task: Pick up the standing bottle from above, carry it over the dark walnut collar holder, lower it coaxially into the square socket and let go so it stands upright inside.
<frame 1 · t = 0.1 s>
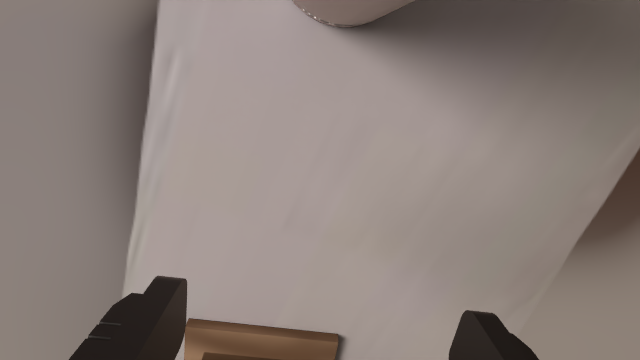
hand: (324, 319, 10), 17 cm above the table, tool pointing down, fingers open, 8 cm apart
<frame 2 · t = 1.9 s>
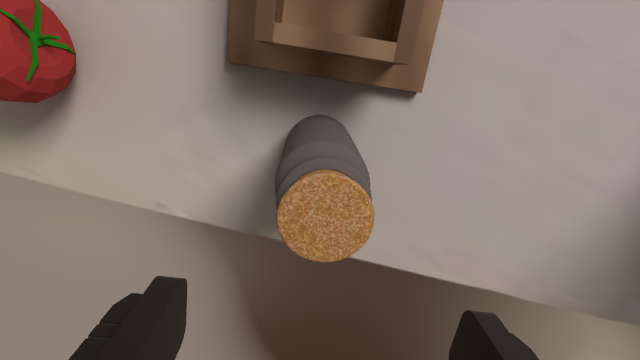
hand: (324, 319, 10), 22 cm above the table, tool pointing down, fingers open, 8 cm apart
bottle: (318, 146, 31), on the table
tomato: (54, 47, 27), on the table
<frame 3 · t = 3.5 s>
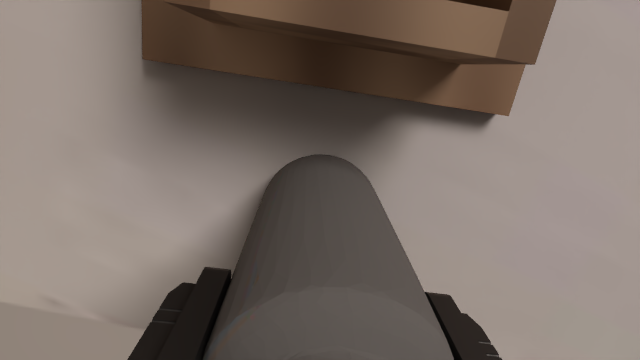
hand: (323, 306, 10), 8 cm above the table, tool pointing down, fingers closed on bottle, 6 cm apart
bottle: (319, 206, 18), on the table, touching gripper
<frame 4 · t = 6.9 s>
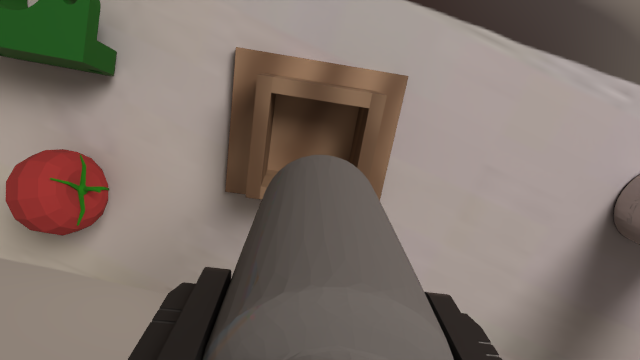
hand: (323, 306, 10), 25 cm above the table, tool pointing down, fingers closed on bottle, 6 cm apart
bottle: (319, 206, 18), point 18 cm above the table, touching gripper
clamp: (60, 24, 30), on the table
tomato: (91, 177, 35), on the table
collar holder: (312, 134, 34), on the table
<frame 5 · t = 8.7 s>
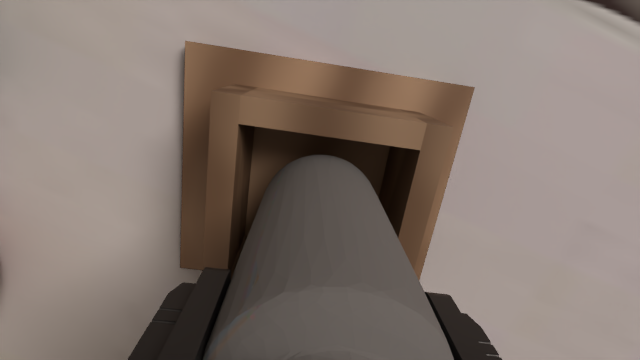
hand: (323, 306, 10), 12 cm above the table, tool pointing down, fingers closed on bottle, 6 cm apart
bottle: (319, 206, 18), point 4 cm above the table, touching gripper
collar holder: (315, 179, 22), on the table
when the fingers open (10 cm above the table, at t = 10.1 s): bottle drops 1 cm, resting on collar holder.
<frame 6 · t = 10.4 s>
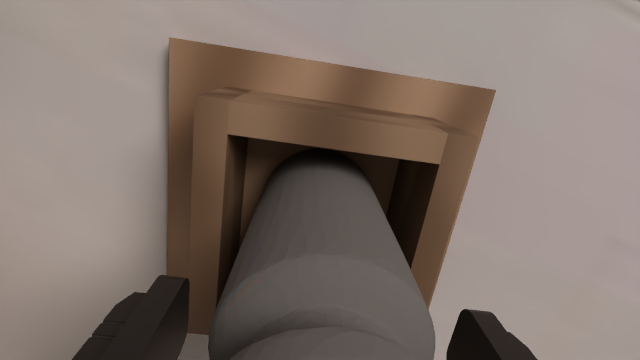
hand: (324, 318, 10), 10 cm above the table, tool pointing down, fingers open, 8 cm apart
bottle: (318, 198, 19), point 1 cm above the table, touching collar holder
collar holder: (316, 191, 19), on the table
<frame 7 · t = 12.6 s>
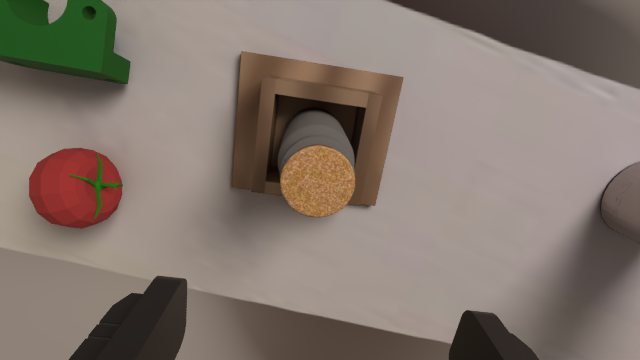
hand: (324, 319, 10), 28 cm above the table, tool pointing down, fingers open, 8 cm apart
bottle: (314, 134, 35), point 1 cm above the table, touching collar holder
clamp: (77, 37, 33), on the table
tomato: (105, 175, 37), on the table
collar holder: (313, 132, 36), on the table
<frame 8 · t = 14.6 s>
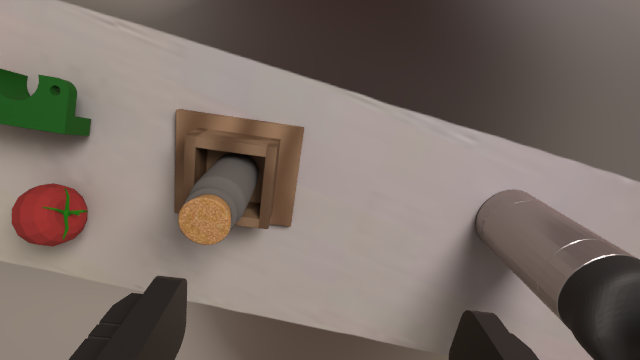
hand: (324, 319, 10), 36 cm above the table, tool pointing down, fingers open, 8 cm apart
bottle: (237, 171, 45), point 1 cm above the table, touching collar holder
clamp: (50, 99, 42), on the table
tomato: (74, 202, 47), on the table
collar holder: (238, 169, 46), on the table
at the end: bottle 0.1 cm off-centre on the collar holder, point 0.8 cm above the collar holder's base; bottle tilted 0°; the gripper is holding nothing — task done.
